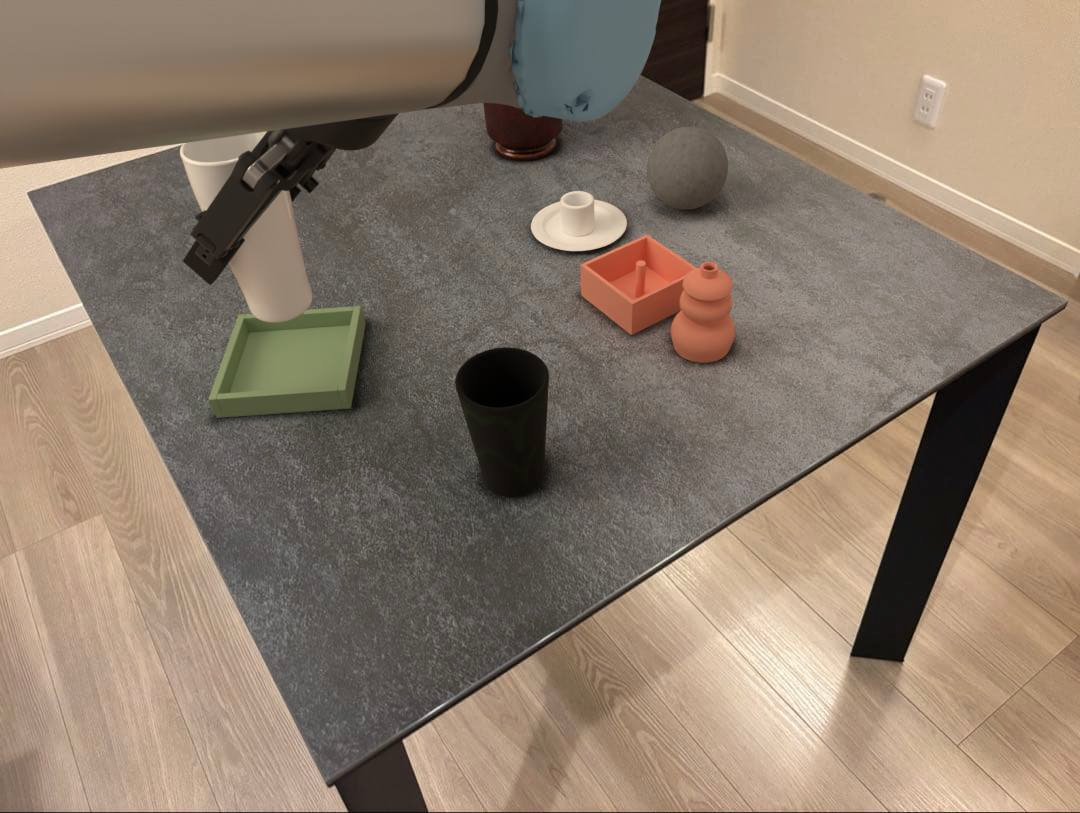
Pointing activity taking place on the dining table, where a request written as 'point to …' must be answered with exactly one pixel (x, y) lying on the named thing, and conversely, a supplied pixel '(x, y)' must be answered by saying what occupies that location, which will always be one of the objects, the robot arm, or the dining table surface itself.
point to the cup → (506, 417)
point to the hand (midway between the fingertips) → (228, 245)
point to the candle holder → (578, 223)
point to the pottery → (663, 296)
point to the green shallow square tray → (290, 364)
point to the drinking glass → (255, 233)
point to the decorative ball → (687, 168)
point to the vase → (520, 132)
